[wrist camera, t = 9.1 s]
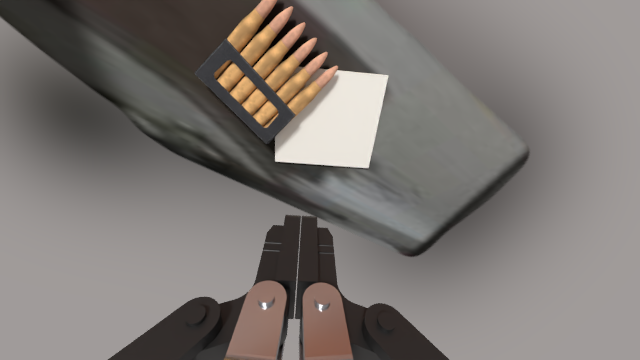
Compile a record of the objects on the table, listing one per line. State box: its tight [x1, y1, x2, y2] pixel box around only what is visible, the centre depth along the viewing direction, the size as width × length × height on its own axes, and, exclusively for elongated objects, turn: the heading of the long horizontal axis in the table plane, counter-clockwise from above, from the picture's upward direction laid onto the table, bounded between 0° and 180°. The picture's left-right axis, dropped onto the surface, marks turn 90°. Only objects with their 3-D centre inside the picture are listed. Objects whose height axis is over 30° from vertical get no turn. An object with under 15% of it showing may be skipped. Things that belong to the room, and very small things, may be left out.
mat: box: [275, 65, 388, 168], centre depth 30 cm, size 13×12×1 cm
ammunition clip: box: [195, 0, 338, 144], centre depth 26 cm, size 11×2×12 cm
